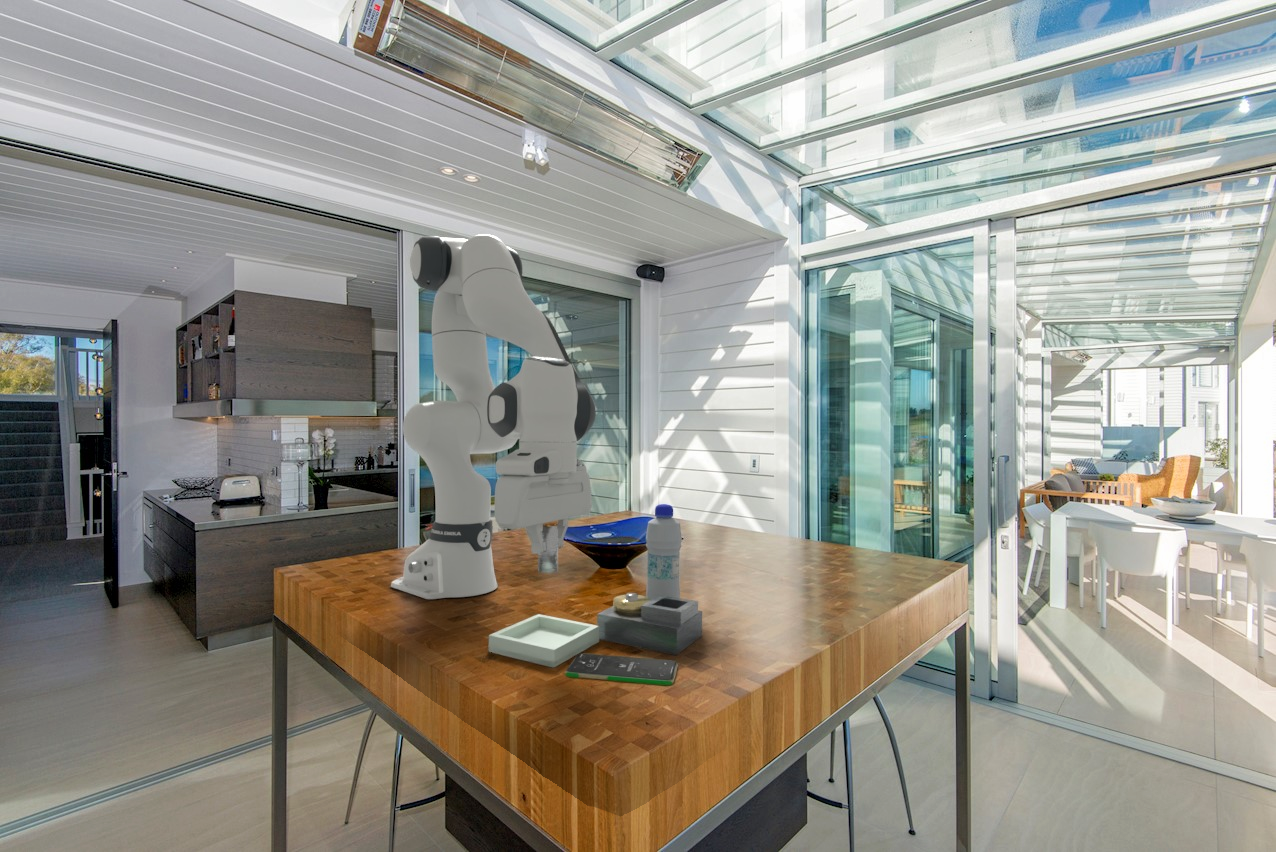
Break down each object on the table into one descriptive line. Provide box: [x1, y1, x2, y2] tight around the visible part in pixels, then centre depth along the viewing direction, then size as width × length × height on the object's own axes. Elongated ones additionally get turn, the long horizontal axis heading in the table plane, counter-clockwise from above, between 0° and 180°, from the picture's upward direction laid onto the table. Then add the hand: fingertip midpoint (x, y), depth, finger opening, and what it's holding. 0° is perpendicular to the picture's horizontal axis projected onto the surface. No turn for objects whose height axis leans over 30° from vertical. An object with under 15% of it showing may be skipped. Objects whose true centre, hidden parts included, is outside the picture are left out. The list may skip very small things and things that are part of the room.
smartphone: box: [564, 652, 679, 686], centre depth 84 cm, size 8×1×15 cm
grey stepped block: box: [596, 592, 703, 656], centre depth 97 cm, size 14×10×6 cm
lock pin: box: [537, 521, 559, 574], centre depth 92 cm, size 3×3×8 cm
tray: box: [488, 613, 600, 669], centre depth 92 cm, size 12×12×2 cm
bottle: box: [645, 503, 683, 601], centre depth 110 cm, size 7×7×20 cm
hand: (547, 550), depth 92 cm, fingers closed on lock pin, 3 cm apart
